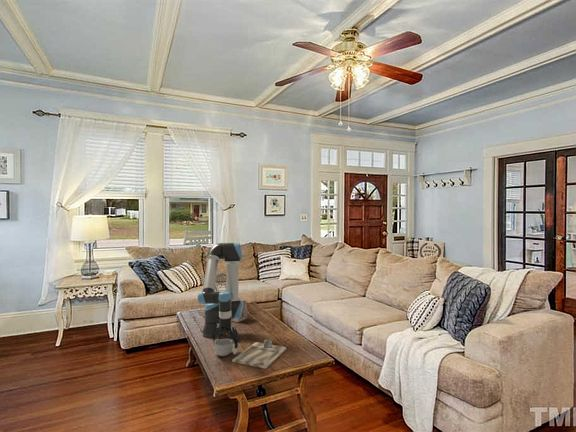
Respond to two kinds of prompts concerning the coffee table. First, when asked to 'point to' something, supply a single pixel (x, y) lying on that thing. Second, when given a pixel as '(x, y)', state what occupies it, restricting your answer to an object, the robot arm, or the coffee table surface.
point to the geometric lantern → (220, 281)
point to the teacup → (223, 347)
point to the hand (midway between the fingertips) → (225, 351)
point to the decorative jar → (244, 312)
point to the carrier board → (260, 354)
